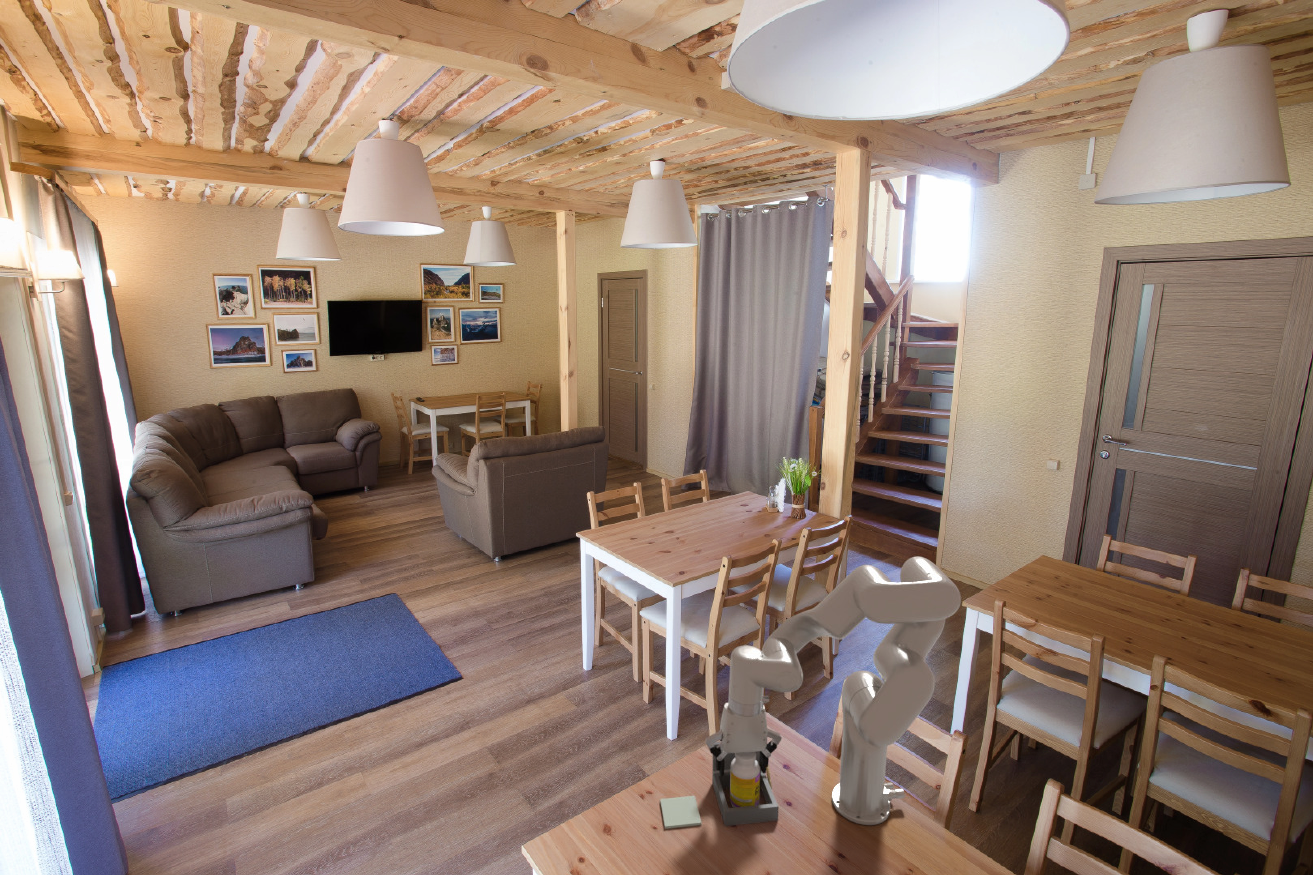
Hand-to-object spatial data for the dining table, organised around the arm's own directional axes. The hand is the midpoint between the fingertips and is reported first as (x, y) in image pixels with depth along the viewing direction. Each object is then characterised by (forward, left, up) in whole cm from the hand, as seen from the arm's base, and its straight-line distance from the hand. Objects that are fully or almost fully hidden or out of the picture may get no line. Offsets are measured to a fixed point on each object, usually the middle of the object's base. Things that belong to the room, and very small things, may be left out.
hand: (741, 770), depth 144 cm
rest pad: (+14, +1, -8) cm, 17 cm away
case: (-1, 0, -8) cm, 8 cm away
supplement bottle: (-1, 0, -9) cm, 9 cm away
